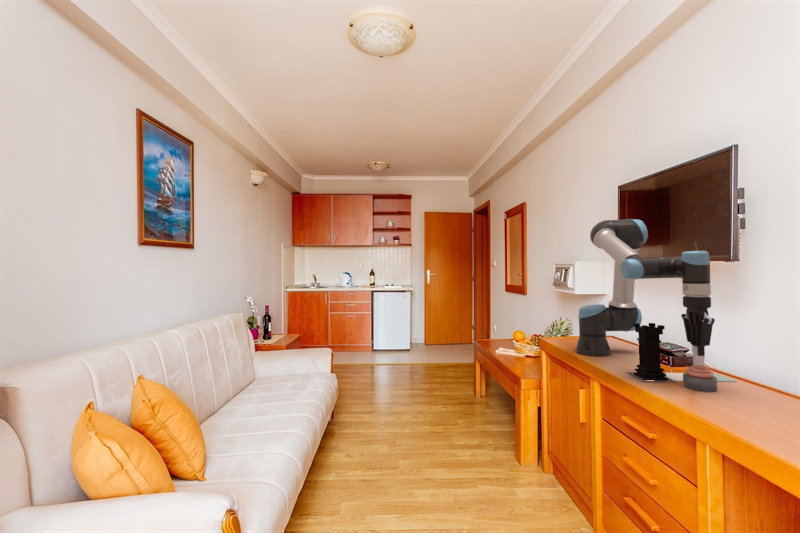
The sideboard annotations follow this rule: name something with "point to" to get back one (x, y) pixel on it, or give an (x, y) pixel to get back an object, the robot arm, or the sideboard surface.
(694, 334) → the robot arm
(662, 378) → the chess piece
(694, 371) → the pink swirled mound
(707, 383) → the base
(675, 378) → the board
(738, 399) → the sideboard surface
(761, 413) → the sideboard surface
